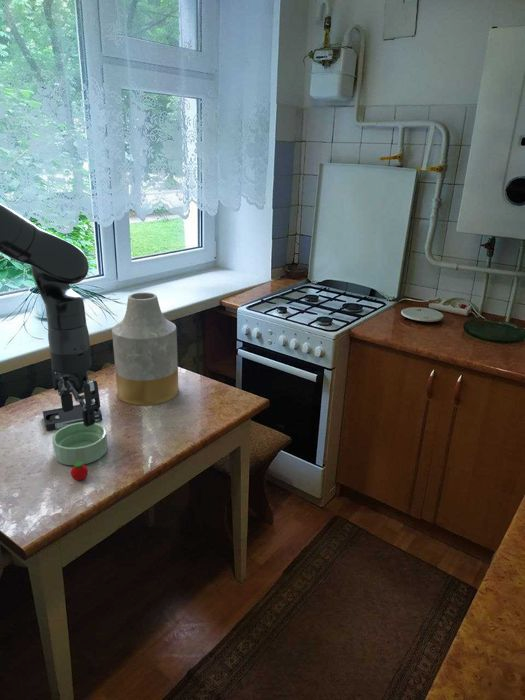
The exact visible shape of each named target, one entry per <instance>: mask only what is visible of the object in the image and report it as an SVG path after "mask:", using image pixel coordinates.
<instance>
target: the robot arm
mask: <svg viewBox="0 0 525 700" xmlns="http://www.w3.org/2000/svg"><path fill="white" fill-rule="evenodd" d="M0 254H1V255H4V256H6V257H8V258H9V259H11V260H13V261H16V262H19V263H23V264H26V265H28V266H29V265H30V268H31V273H32V277H33V280H34V282H35V285H36V287H37V290H38V292H39V295H40V298H41V299H42V302H43V304H44V306H45V315H46V323H47V338H48V339H47V341H48V348H49V354H50V362H51V365H50V368H51V378H52V387H53V390H54V391H57V395H58V396H59V397H60V403H61V408H62V410H63V411H64V412H68V411H71V410H73V408H74V407H73V406H74V400H75V402H77V403H78V404H79V405H81V408H82V414H83V423H84V425H85V426H86V427H88V426H91V425H93V424H95V423H96V422H95V415H94V410H95V409H97V408H99V409H101V399H100V393H99V392H100V391H99V385H98V381H97V380H96V379H94V380H89V376H88V374H87V372H88V371H89V370H90V369H91V368H92V365H93V359H92V350H91V341H90V332H89V329H88V325H87V317H86V308H85V302H84V299H83V297H82V296H81V295H80V294H79V293H77V292H75V291H74V290H73V288H71V286H70V285H75V284H78V283H81V282H83V281H84V280H85V278H86V277H87V276H88V274H89V269H90V265H89V264H90V263H89V260H88V257H87V256H86V254H85V253H84V252H83V251H82V250H81V248H79V247H78V246H76V245H75V244H73V243H71V242H69V241H67V240H65V239H63V238H61V237H59V236H57V235H55V234H53V233H51V232H48V231H46V230H44V229H42V228H40V227H38V226H37V225H36V224H34V223H33V222H32V221H30V220H28V219H27V218H26V217H24V216H22V215H21V214H19V213H18V212H16V211H15V210H13V209H11V208H9V207H7V206H6V205H4V204H2V203H0ZM58 381H59V382H58ZM73 398H74V399H73ZM85 403H86V405H85Z"/></svg>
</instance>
